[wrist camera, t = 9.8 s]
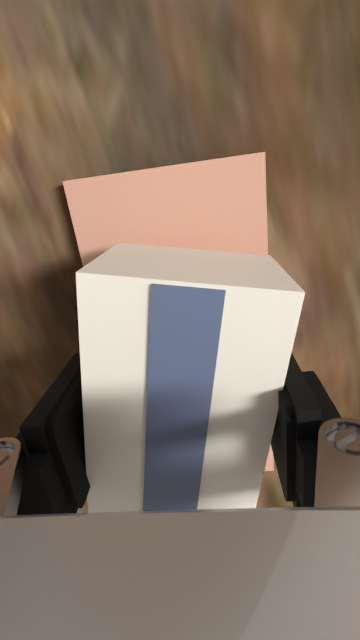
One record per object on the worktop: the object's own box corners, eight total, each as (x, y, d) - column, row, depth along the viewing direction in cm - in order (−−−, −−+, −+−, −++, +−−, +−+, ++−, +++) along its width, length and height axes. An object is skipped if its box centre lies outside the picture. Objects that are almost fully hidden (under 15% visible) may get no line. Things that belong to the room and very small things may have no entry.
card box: (269, 255, 11) (306, 293, 7) (233, 462, 14) (244, 563, 10) (118, 242, 11) (74, 273, 7) (118, 450, 14) (88, 545, 11)
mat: (271, 461, 17) (273, 470, 16) (136, 467, 17) (133, 476, 17) (261, 153, 11) (264, 152, 11) (69, 181, 12) (62, 181, 12)
